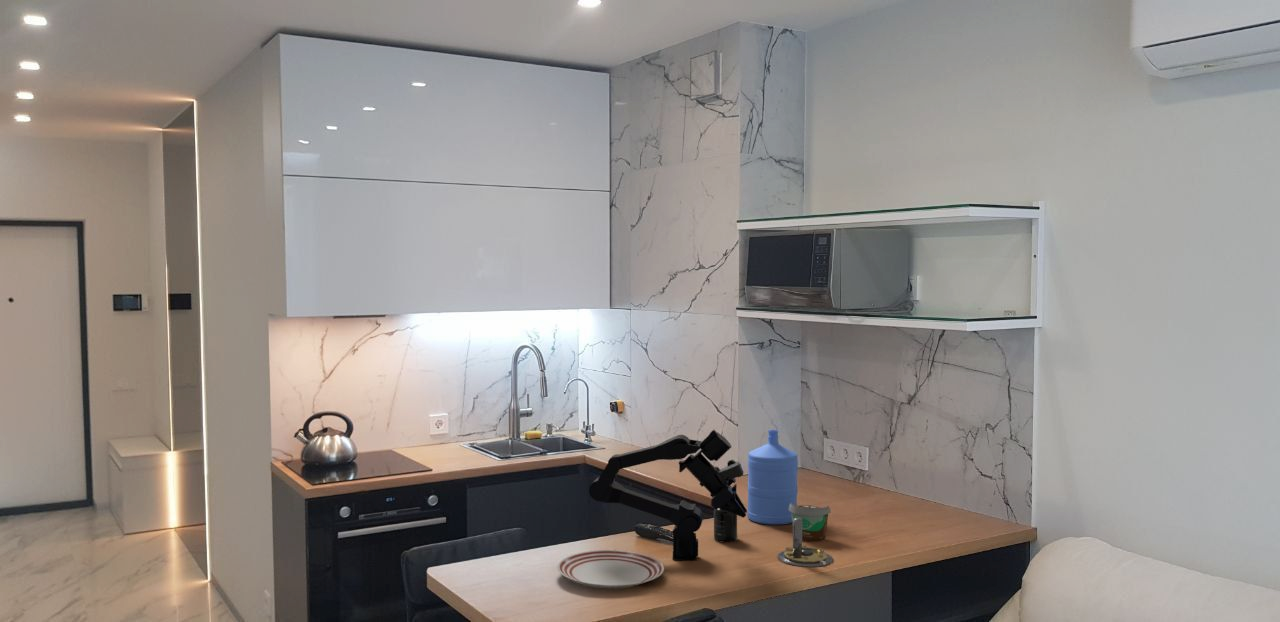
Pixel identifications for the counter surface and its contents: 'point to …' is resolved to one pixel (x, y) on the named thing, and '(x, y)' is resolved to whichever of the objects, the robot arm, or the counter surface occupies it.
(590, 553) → the dinner plate
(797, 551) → the rod on round base
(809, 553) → the flange
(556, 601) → the counter surface
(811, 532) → the food container
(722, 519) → the supplement bottle
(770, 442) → the water jug
